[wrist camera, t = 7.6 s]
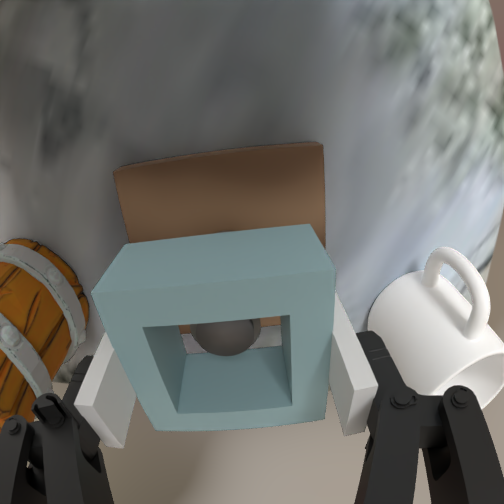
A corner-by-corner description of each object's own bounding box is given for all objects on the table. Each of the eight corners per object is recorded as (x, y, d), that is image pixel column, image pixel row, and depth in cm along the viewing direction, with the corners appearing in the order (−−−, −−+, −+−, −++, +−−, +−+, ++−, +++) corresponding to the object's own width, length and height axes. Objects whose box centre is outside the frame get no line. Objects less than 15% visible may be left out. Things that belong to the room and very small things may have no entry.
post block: (121, 166, 18) (47, 218, 10) (316, 141, 18) (377, 176, 10) (161, 322, 24) (137, 418, 16) (319, 306, 24) (352, 401, 16)
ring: (124, 244, 13) (90, 293, 10) (309, 223, 13) (335, 269, 10) (166, 373, 17) (155, 430, 13) (310, 361, 17) (324, 419, 13)
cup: (360, 354, 26) (397, 448, 17) (371, 228, 21) (449, 318, 12) (437, 335, 26) (487, 413, 17) (462, 218, 21) (550, 285, 12)
